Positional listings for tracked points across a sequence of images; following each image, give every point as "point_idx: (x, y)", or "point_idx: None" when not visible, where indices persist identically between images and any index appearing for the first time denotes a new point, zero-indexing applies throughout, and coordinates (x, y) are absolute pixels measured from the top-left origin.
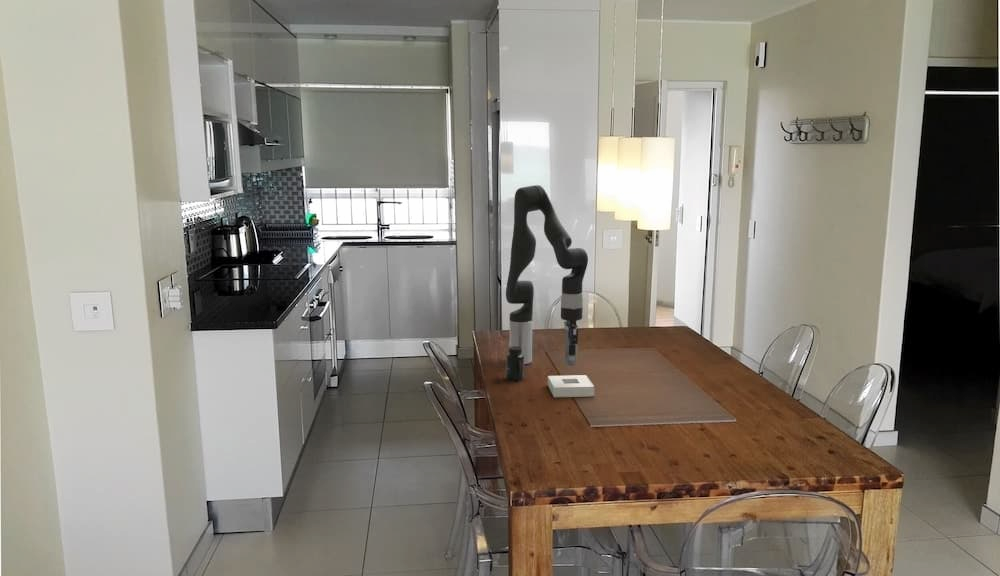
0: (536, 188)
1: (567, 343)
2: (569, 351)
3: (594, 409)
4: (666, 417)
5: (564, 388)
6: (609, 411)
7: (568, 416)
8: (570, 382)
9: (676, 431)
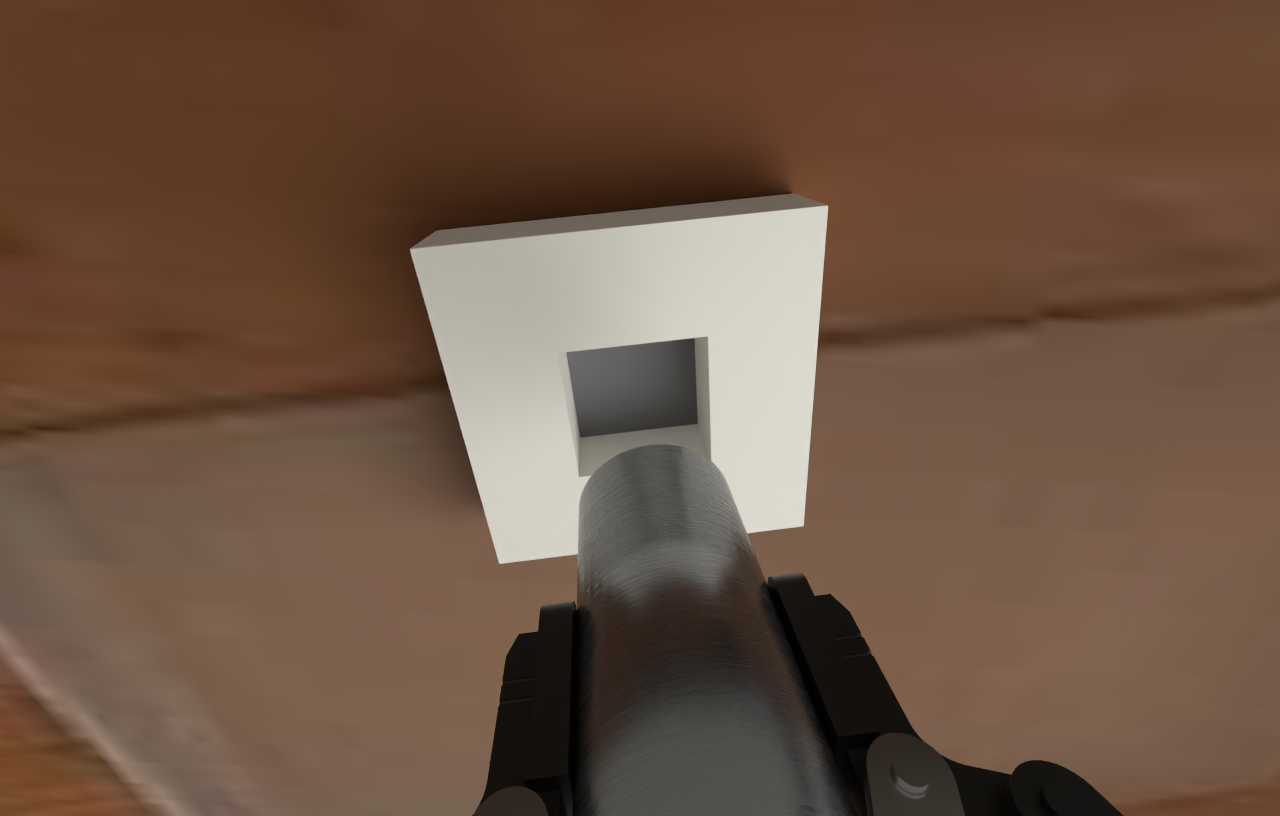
0: None
1: (600, 777)
2: (534, 659)
3: (215, 500)
4: (219, 772)
5: (440, 345)
6: (209, 574)
7: None
8: (704, 399)
9: (17, 790)
